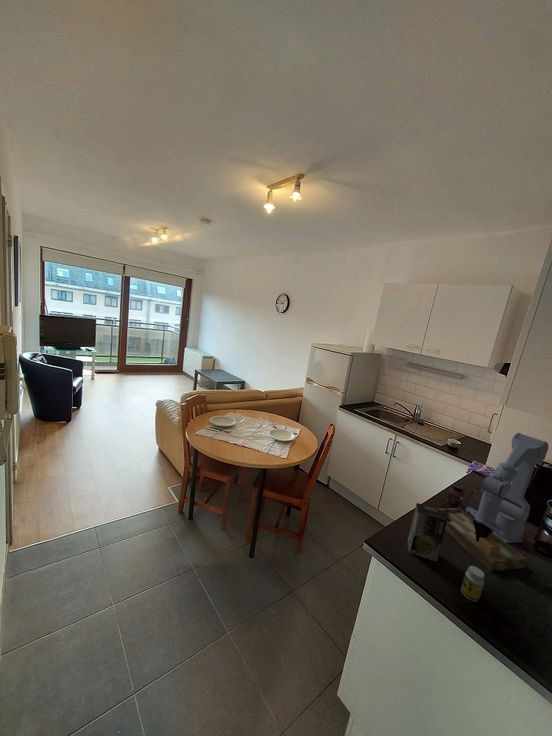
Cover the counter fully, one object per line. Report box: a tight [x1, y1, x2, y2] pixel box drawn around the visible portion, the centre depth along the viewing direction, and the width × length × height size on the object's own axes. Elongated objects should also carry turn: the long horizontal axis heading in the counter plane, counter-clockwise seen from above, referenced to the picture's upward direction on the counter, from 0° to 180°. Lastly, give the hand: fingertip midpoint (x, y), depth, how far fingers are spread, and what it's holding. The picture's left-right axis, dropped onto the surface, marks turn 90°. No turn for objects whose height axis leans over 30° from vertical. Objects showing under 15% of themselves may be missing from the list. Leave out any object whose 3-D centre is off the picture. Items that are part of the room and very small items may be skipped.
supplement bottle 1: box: [445, 483, 465, 509], centre depth 134 cm, size 6×6×11 cm
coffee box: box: [407, 502, 448, 563], centre depth 102 cm, size 9×6×16 cm
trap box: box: [437, 507, 528, 572], centre depth 114 cm, size 16×28×4 cm, turn 14°
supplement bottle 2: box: [460, 565, 485, 602], centre depth 87 cm, size 5×5×8 cm
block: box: [477, 537, 501, 557], centre depth 104 cm, size 4×4×4 cm
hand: (479, 541), depth 108 cm, fingers closed
